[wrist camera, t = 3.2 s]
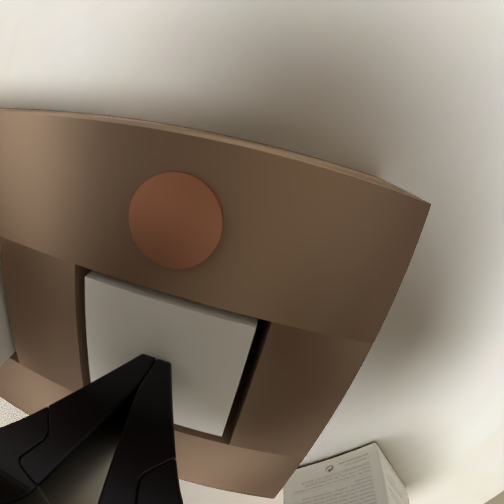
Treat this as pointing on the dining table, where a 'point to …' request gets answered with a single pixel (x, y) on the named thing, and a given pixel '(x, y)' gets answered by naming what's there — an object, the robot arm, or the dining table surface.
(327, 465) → the small box
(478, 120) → the dining table surface
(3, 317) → the key mid
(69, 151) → the key board
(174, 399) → the key
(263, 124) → the dining table surface
